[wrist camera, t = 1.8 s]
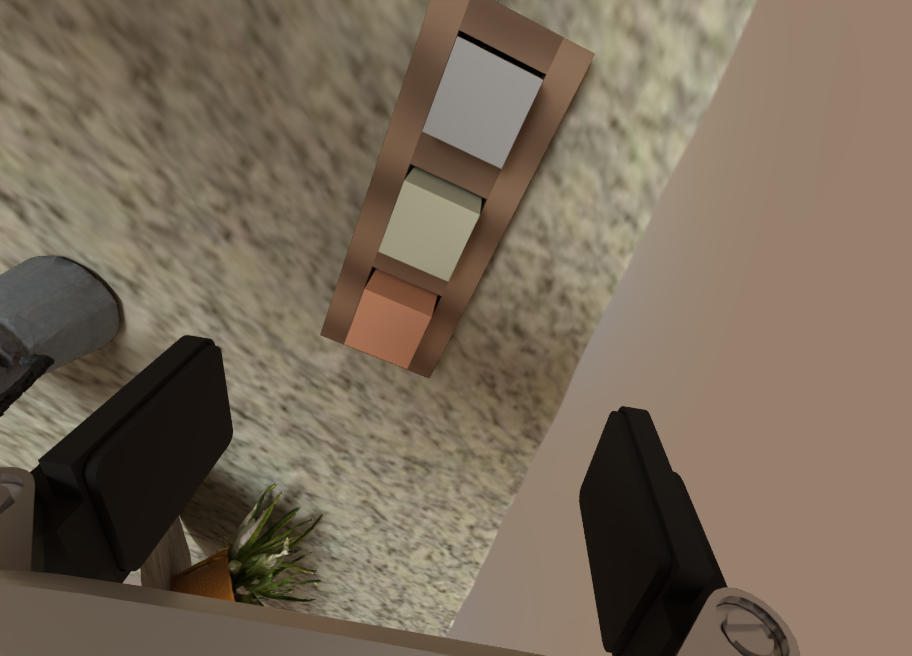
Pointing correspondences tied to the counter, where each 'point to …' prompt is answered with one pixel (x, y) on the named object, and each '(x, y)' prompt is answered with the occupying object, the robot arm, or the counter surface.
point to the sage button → (430, 224)
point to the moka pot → (49, 321)
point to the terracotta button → (391, 318)
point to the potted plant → (230, 562)
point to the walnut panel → (455, 162)
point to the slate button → (481, 103)
